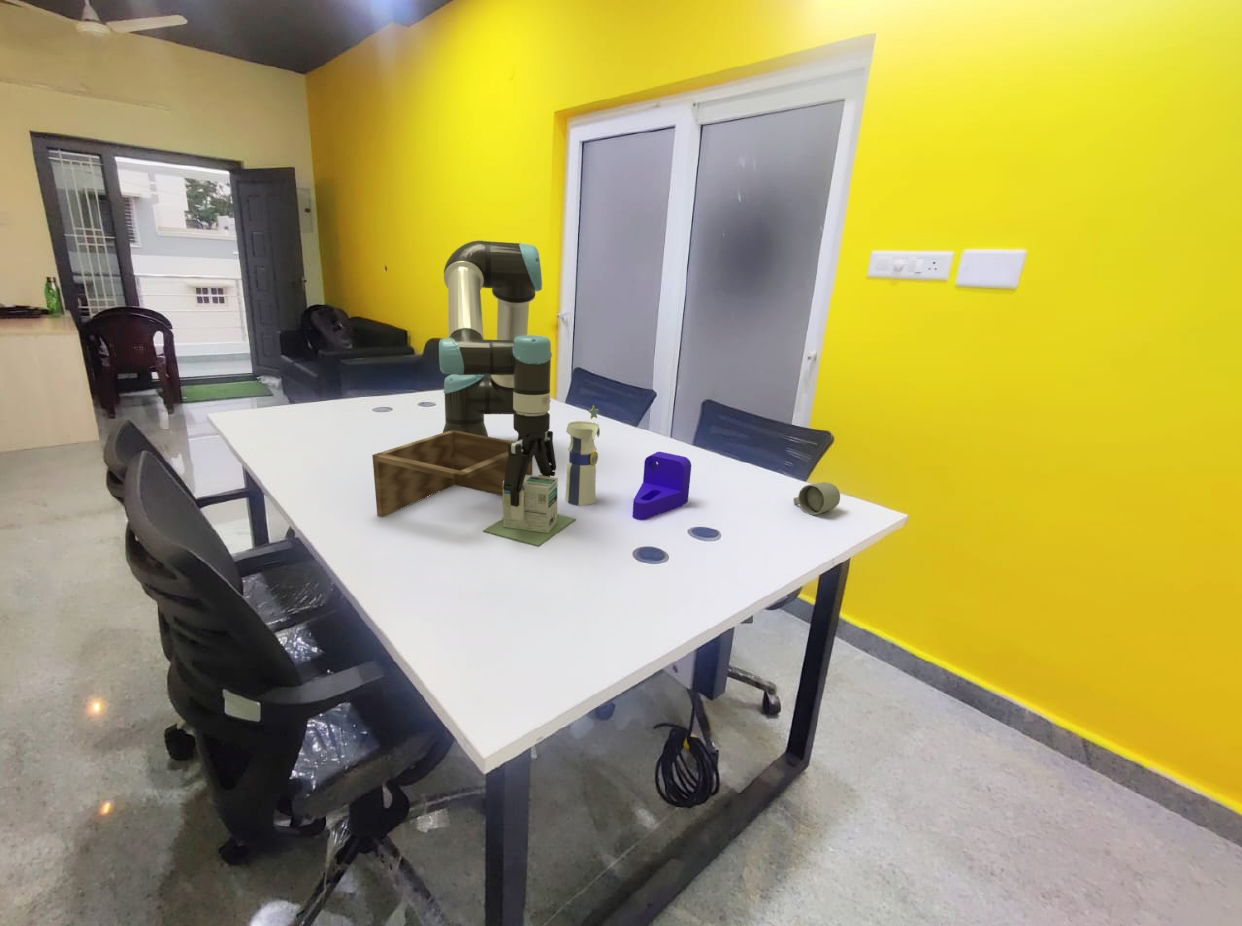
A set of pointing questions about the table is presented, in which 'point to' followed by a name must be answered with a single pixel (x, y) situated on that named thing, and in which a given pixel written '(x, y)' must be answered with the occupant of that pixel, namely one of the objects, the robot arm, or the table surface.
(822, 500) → the ceramic mug
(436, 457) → the open wooden box frame
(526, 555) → the table surface
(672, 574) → the table surface
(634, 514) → the bracket
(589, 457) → the belted robe figure
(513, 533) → the mat
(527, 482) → the light bulb box
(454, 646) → the table surface
